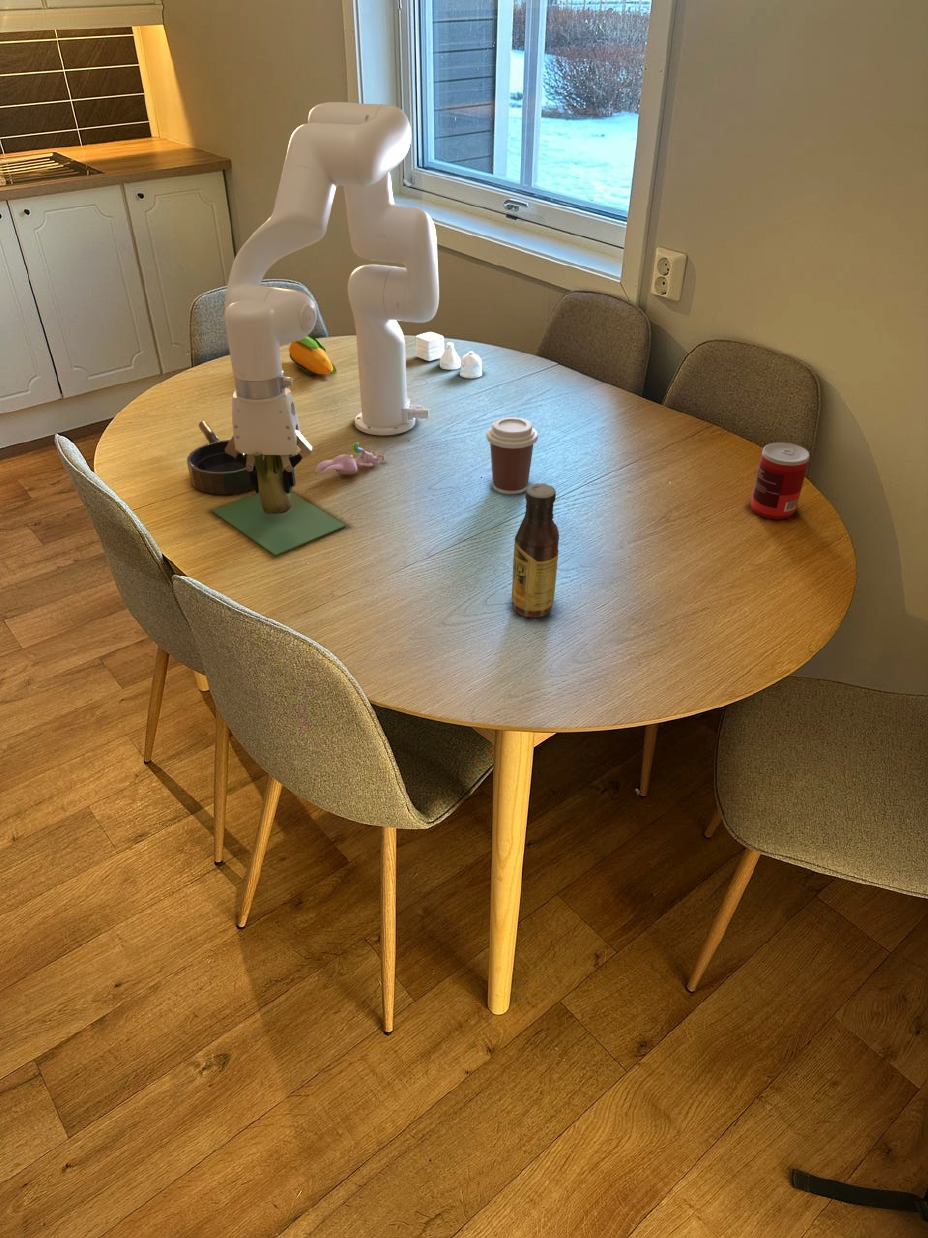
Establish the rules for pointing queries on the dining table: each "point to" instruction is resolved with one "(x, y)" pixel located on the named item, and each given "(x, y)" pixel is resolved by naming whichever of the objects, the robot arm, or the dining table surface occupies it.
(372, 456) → the rabbit figure
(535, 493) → the sauce bottle
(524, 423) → the coffee cup
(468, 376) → the container set
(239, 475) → the pan
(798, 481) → the canned food
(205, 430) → the pan handle
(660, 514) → the dining table surface
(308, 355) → the corn
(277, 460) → the fennel bulb
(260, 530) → the cloth
